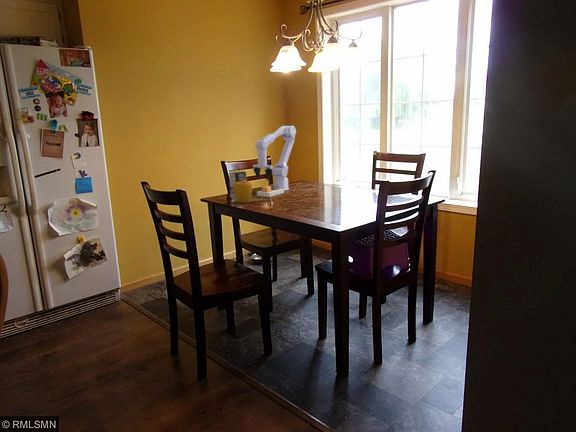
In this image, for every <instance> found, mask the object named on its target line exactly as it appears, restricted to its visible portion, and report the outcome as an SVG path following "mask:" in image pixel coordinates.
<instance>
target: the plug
mask: <svg viewBox="0 0 576 432" xmlns="http://www.w3.org/2000/svg"><path fill="white" fill-rule="evenodd" d="M261 191H262V192H267V193H268V192H271V186H269V185H265V186H262V187H261Z"/></svg>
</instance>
